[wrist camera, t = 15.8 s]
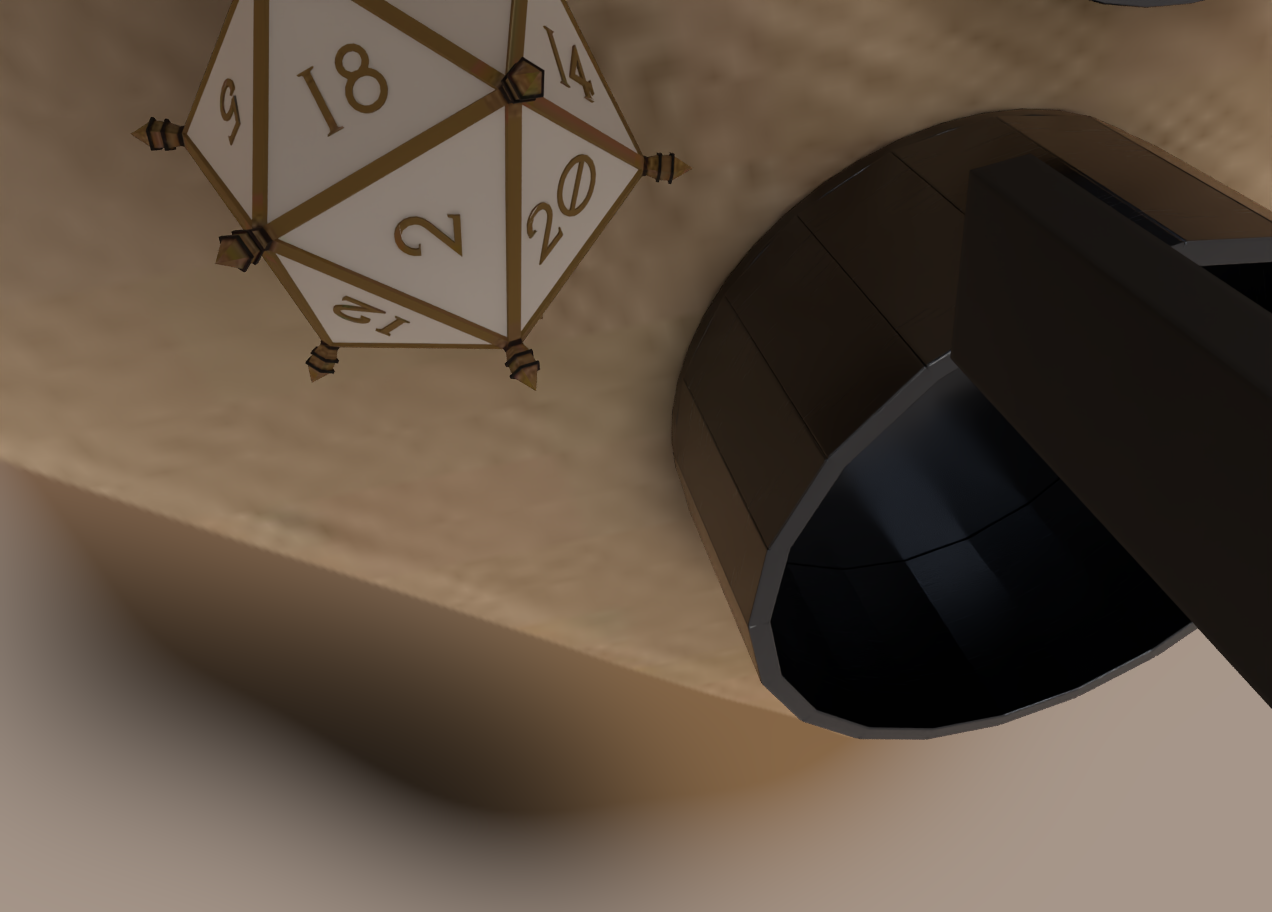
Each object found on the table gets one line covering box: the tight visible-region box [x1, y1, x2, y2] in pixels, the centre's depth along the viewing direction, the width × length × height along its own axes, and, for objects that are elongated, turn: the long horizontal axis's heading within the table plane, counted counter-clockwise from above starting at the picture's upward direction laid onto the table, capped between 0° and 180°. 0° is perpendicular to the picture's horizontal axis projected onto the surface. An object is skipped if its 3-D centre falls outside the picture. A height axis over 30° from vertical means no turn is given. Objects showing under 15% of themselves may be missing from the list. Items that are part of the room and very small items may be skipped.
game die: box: [131, 0, 692, 391], centre depth 16 cm, size 9×8×10 cm
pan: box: [672, 109, 1272, 740], centre depth 26 cm, size 18×18×8 cm
